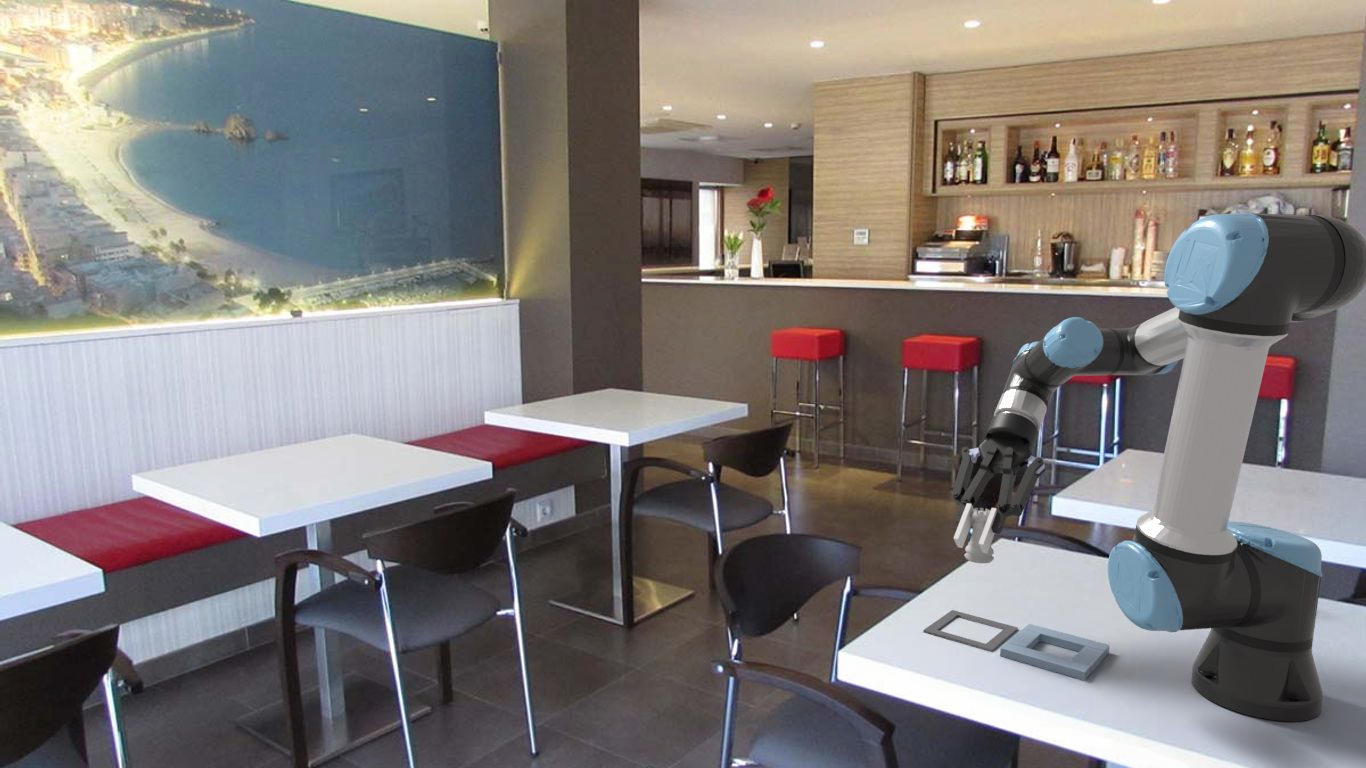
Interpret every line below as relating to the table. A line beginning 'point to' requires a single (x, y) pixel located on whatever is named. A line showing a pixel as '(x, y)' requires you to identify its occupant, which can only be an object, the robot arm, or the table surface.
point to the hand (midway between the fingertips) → (970, 545)
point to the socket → (1077, 667)
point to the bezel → (988, 646)
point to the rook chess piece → (978, 538)
